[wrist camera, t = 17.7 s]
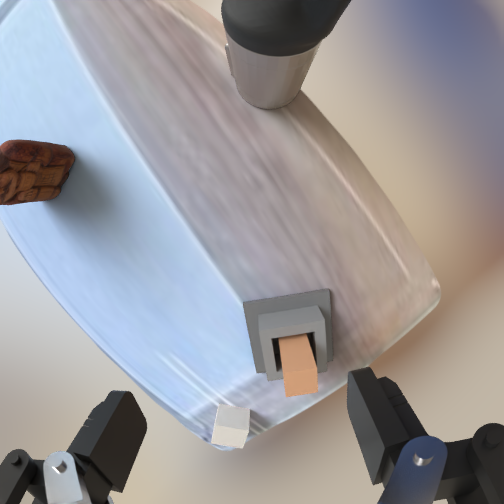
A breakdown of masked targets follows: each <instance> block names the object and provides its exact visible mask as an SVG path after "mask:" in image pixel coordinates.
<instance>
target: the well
mask: <svg viewBox="0 0 504 504" xmlns="http://www.w3.org/2000/svg"><path fill="white" fill-rule="evenodd" d="M243 307H244V313H245V318H246V323H247V328H248V333H249V338H250V343H251V348H252V353H253V358H254V363H255V368H256V372H257V373H263V372H266V374H267V379H268V381H273V380H280V379H284V377H283V370H282V362H281V355H280V347H279V339H278V337H285V336H291V335H297V334H303V333H306V334H307V338H308V341H309V344H310V347H311V350H312V353H313V356H314V360H315V363H316V366H317V373H321V372H326V371H327V362H329V361H333V344H332V323H331V306H330V292H329V289H322V290H317V291H311V292H305V293H299V294H293V295H287V296H281V297H274V298H268V299H261V300H254V301H247V302H243Z"/></svg>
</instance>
